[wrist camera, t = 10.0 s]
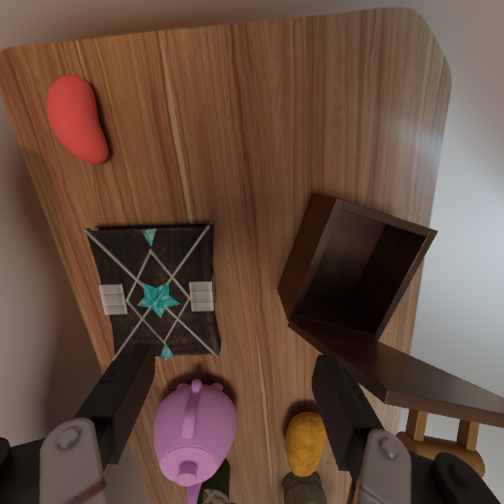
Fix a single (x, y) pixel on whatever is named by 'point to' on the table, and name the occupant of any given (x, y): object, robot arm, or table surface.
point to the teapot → (194, 434)
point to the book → (158, 287)
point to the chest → (350, 267)
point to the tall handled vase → (303, 489)
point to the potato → (305, 443)
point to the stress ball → (76, 119)
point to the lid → (413, 391)
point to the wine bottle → (216, 487)
